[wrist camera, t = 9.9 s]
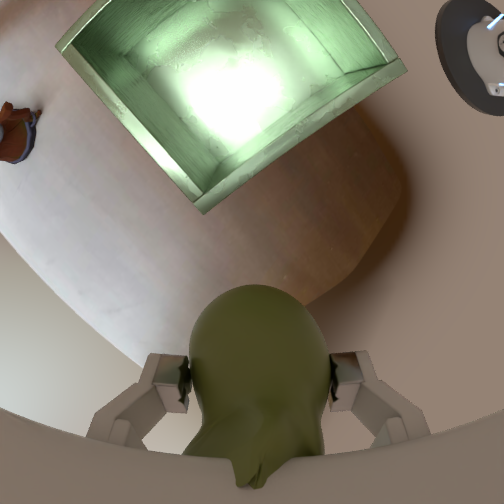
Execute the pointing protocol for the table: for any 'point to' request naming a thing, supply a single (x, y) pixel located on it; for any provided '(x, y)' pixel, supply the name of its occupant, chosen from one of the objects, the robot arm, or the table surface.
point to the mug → (16, 133)
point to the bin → (227, 78)
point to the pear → (258, 381)
